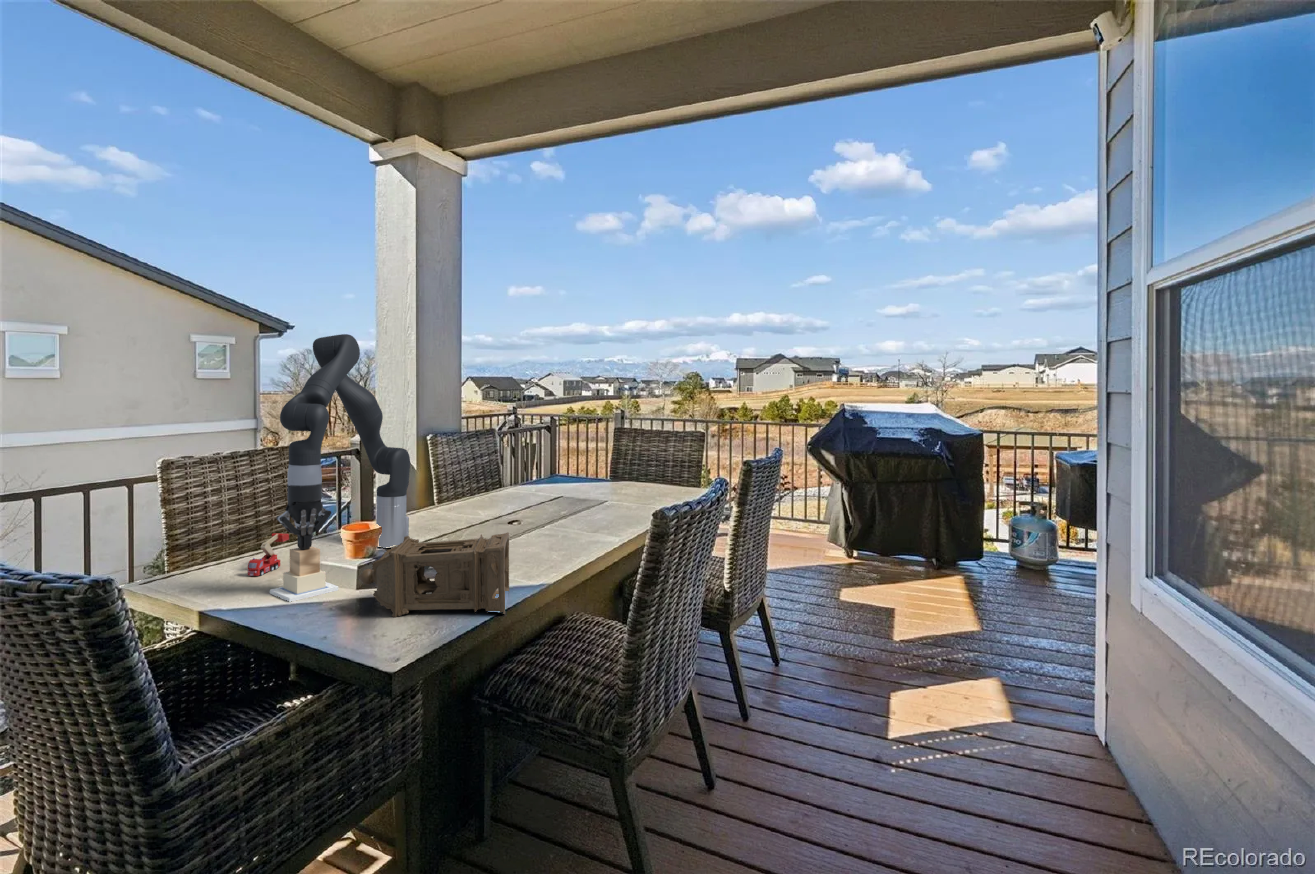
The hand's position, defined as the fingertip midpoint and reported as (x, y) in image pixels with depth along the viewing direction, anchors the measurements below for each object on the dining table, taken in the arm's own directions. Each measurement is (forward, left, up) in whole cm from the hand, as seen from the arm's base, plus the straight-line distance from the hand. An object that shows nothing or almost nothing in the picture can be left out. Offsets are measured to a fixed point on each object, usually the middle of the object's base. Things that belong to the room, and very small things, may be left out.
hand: (304, 549), depth 154 cm
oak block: (0, 0, -6) cm, 6 cm away
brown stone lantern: (-14, +33, -12) cm, 38 cm away
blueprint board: (0, 0, -11) cm, 11 cm away
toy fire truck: (-3, -26, -11) cm, 29 cm away
